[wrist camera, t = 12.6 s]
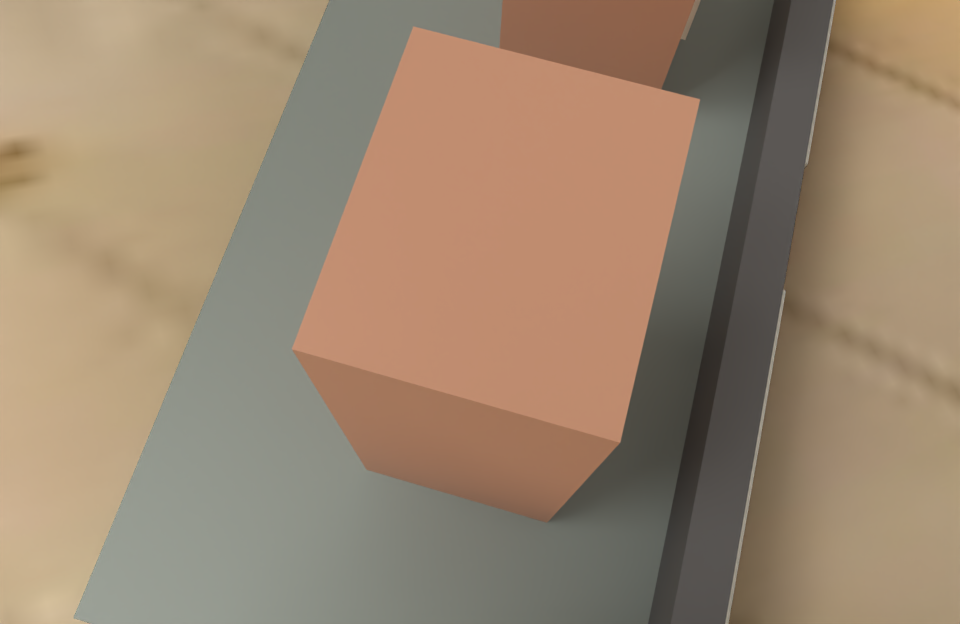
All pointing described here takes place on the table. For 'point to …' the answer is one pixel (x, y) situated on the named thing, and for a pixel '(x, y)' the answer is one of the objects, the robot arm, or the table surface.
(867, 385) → the table surface
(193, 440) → the display shelf
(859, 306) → the table surface
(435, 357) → the tea box
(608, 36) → the tea box
